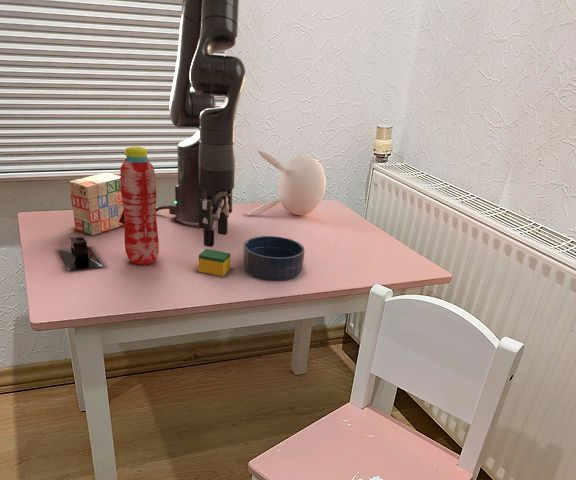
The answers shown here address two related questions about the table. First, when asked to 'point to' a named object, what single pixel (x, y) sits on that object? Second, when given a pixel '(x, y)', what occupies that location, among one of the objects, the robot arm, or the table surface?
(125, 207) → the water bottle
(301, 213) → the stuffed toy
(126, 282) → the table surface
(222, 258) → the sponge
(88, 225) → the stack of blocks
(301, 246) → the bowl
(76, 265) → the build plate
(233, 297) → the table surface
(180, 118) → the robot arm
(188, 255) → the table surface
